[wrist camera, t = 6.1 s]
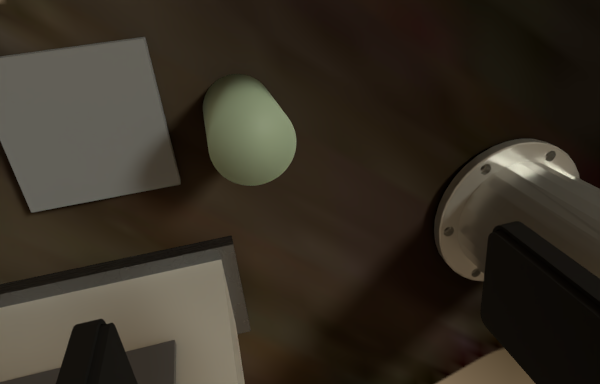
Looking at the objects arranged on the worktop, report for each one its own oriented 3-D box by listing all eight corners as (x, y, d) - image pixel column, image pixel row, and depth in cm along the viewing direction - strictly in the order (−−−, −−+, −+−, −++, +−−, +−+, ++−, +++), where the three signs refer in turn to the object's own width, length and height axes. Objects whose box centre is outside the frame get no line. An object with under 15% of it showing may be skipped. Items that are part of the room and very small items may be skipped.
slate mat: (145, 36, 25) (143, 38, 25) (180, 179, 29) (180, 184, 29) (-28, 60, 24) (-34, 62, 23) (35, 206, 28) (31, 212, 27)
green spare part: (267, 68, 28) (291, 94, 22) (276, 135, 30) (300, 176, 24) (195, 79, 27) (199, 109, 21) (210, 147, 29) (217, 192, 23)
